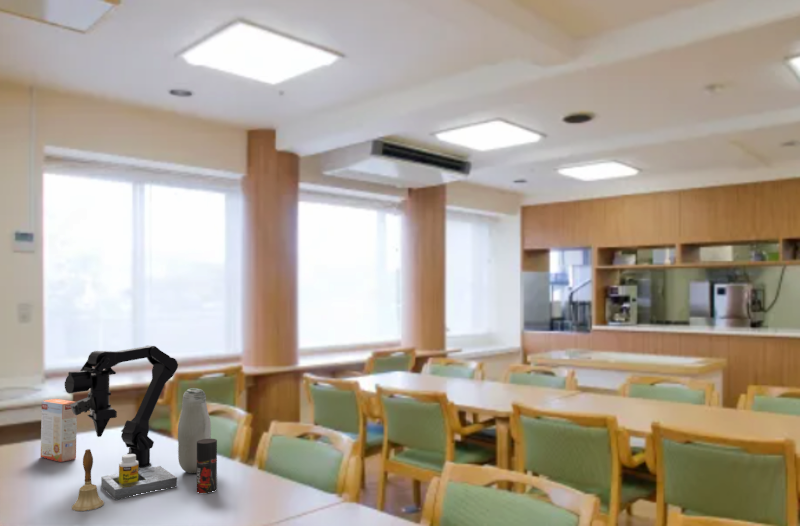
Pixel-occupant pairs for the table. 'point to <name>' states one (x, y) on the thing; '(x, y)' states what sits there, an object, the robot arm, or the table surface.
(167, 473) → the jig block
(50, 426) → the cracker box
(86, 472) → the hand bell
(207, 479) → the deodorant
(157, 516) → the table surface
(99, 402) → the robot arm
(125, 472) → the supplement bottle
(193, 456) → the gray bottle
